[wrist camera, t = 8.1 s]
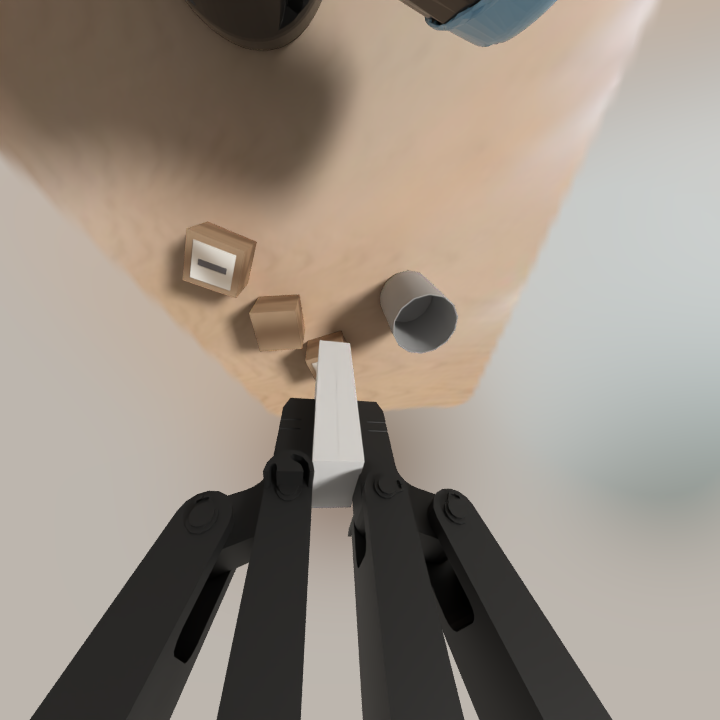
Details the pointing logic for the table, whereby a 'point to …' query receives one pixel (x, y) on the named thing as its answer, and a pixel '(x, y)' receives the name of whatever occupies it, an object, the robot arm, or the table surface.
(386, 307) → the cup
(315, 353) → the numbered block
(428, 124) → the table surface
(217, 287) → the numbered block
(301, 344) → the plain block
